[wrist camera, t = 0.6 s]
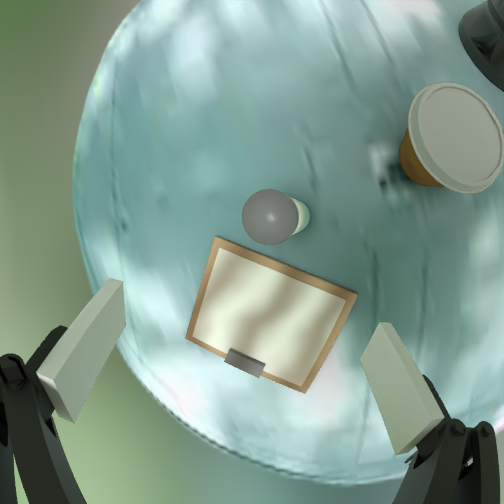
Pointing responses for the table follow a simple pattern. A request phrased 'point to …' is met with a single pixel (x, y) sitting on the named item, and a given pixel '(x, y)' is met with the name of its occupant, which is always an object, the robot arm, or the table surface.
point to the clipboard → (267, 315)
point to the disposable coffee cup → (452, 139)
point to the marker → (274, 216)
